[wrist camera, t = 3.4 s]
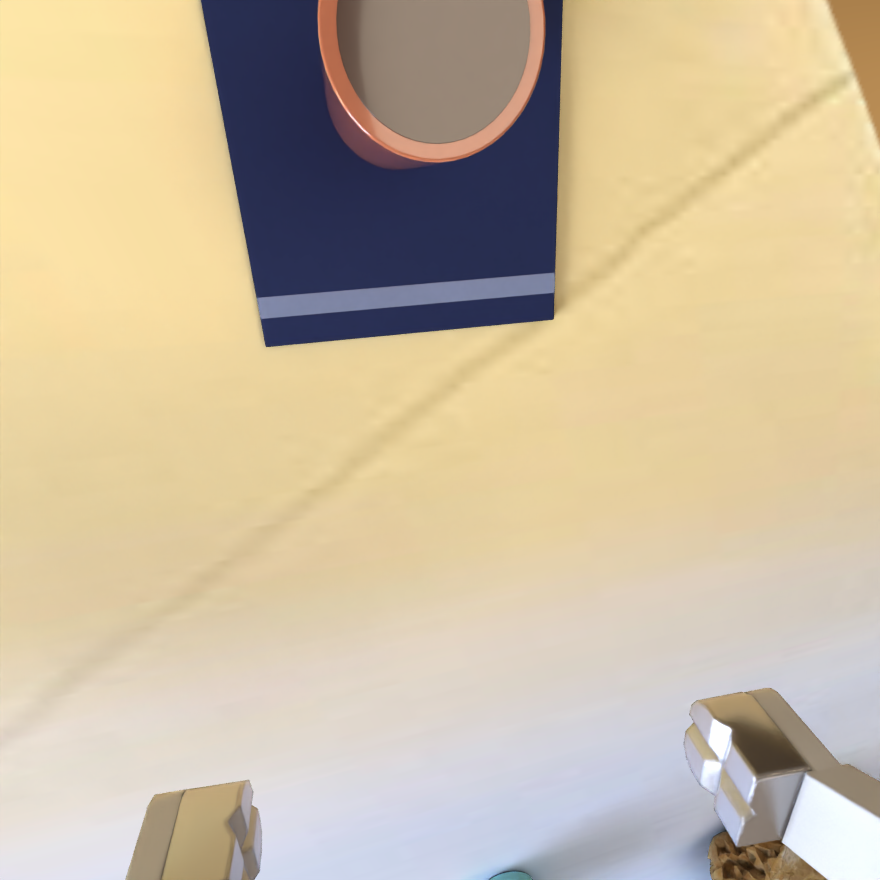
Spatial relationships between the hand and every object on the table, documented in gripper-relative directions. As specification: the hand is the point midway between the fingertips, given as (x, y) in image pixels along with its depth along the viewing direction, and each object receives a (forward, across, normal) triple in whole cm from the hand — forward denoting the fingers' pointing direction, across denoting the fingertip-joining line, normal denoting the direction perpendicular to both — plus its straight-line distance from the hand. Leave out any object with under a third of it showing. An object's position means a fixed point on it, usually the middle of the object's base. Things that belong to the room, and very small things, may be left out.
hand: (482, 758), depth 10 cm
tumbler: (+20, +1, +13) cm, 24 cm away
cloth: (+21, +1, +13) cm, 24 cm away
